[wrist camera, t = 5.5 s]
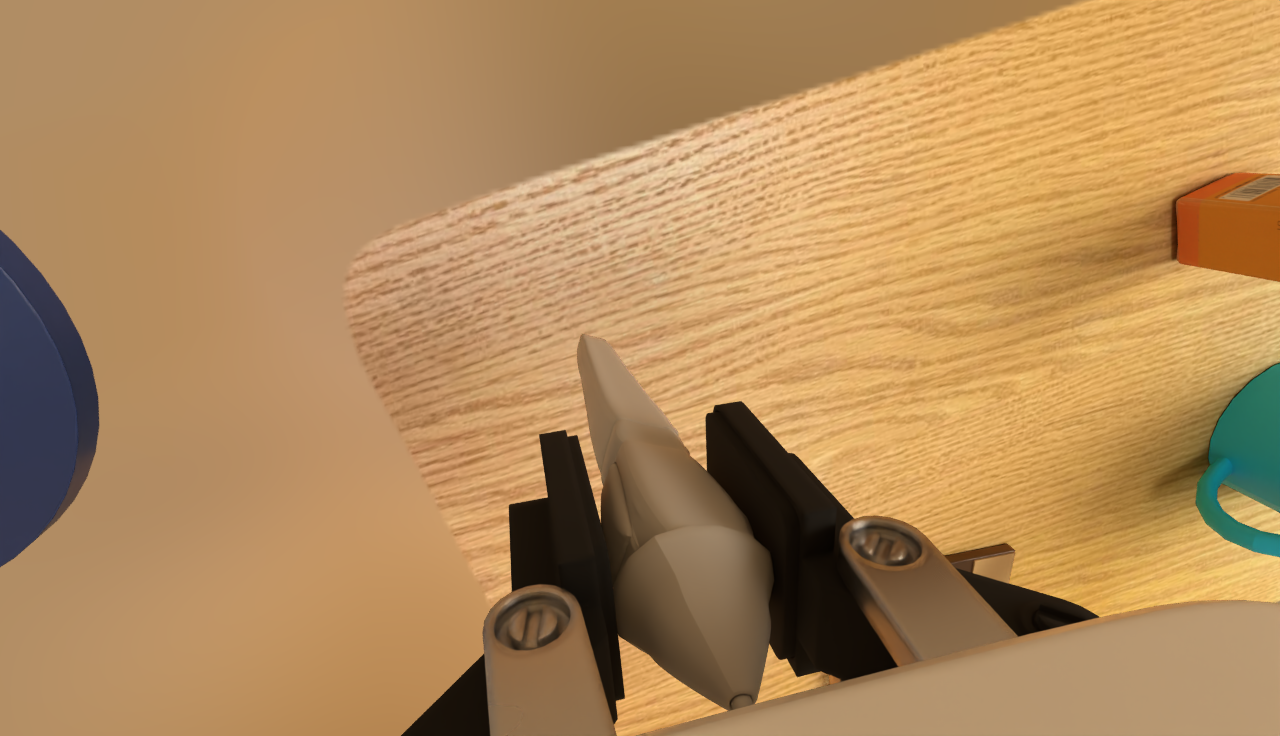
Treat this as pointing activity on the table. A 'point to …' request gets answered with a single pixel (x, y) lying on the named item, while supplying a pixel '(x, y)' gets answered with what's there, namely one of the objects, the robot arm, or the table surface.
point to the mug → (1246, 461)
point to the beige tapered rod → (674, 542)
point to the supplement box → (1232, 226)
